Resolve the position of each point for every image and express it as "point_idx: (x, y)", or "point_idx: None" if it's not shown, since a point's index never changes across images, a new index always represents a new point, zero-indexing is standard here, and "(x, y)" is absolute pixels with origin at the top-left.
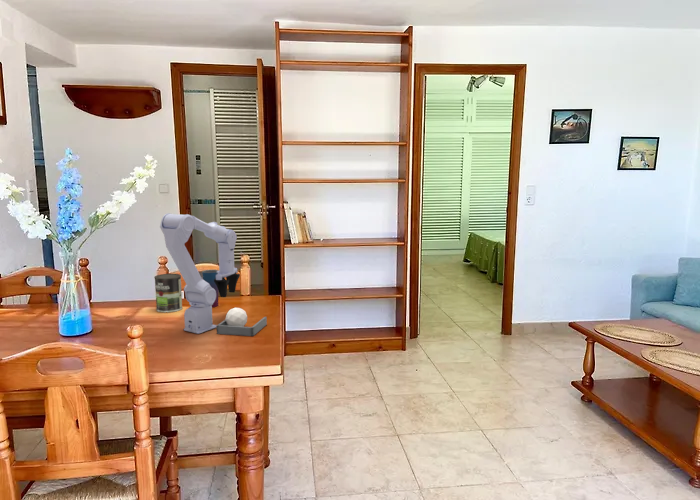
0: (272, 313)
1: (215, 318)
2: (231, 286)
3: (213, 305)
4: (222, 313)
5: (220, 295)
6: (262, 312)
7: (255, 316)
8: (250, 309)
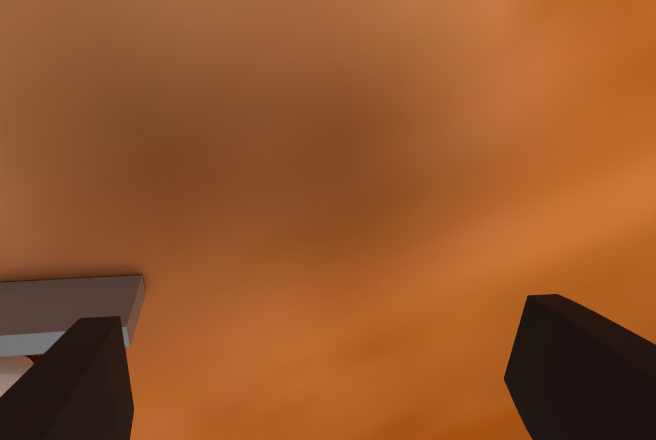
0: (468, 437)
1: (231, 18)
2: (604, 437)
3: None
4: (452, 14)
5: (61, 346)
6: (494, 368)
7: (375, 368)
8: (594, 245)
